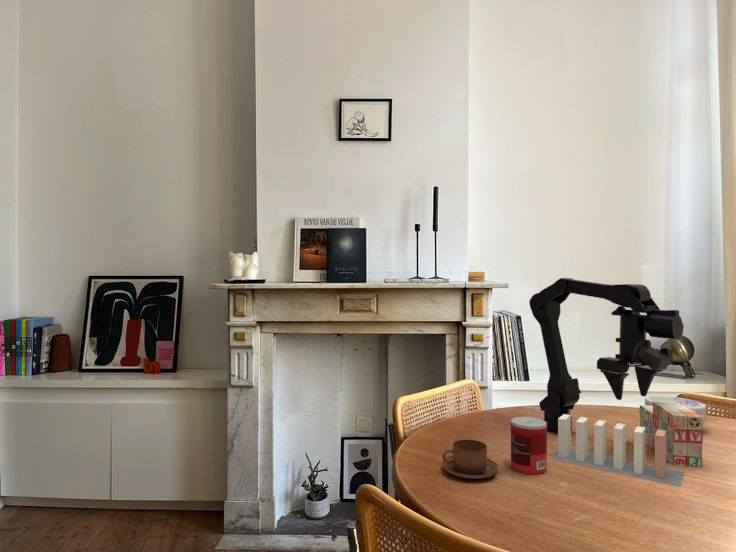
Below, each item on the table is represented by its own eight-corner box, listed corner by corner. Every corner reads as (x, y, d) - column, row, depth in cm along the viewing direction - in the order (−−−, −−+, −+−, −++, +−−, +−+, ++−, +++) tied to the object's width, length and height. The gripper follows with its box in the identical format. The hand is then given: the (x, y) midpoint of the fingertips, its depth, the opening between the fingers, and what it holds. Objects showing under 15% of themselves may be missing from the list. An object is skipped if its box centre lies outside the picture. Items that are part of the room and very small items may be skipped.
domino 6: (654, 477, 104) (654, 434, 104) (657, 470, 108) (657, 429, 108) (663, 479, 103) (663, 436, 103) (666, 471, 107) (666, 430, 107)
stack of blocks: (639, 438, 132) (639, 393, 132) (664, 440, 130) (664, 394, 131) (672, 468, 111) (672, 414, 111) (703, 470, 109) (703, 416, 110)
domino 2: (575, 460, 113) (575, 421, 113) (581, 454, 117) (581, 416, 117) (583, 461, 112) (583, 422, 112) (588, 455, 116) (588, 418, 116)
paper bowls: (709, 427, 142) (709, 400, 142) (701, 439, 131) (701, 410, 131) (650, 417, 152) (650, 392, 152) (638, 428, 141) (638, 400, 141)
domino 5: (633, 472, 106) (633, 431, 106) (637, 465, 110) (637, 426, 110) (642, 474, 105) (642, 432, 105) (645, 467, 109) (645, 427, 109)
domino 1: (558, 456, 116) (558, 418, 116) (563, 450, 120) (563, 414, 120) (565, 457, 115) (565, 419, 115) (570, 452, 119) (570, 415, 119)
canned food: (546, 466, 111) (546, 418, 111) (547, 479, 103) (547, 428, 103) (511, 462, 113) (511, 414, 113) (509, 474, 106) (510, 424, 106)
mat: (549, 460, 114) (549, 458, 114) (561, 449, 122) (561, 446, 122) (680, 489, 99) (680, 487, 99) (684, 474, 107) (684, 471, 107)
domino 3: (594, 464, 111) (594, 424, 111) (599, 457, 115) (599, 419, 115) (601, 465, 110) (602, 426, 110) (606, 459, 114) (606, 421, 114)
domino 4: (613, 468, 108) (613, 427, 108) (617, 461, 112) (617, 422, 112) (621, 470, 107) (621, 429, 107) (625, 463, 111) (625, 424, 111)
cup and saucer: (465, 488, 99) (465, 458, 99) (431, 468, 110) (431, 440, 110) (509, 477, 104) (509, 449, 105) (473, 459, 115) (473, 433, 115)
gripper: (638, 340, 109) (637, 410, 109) (689, 337, 117) (687, 402, 117) (595, 334, 119) (594, 398, 119) (645, 332, 127) (644, 391, 127)
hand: (631, 397), depth 120 cm, fingers open, 9 cm apart
